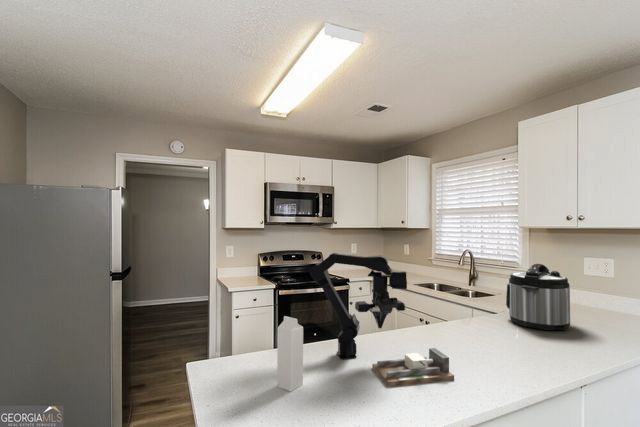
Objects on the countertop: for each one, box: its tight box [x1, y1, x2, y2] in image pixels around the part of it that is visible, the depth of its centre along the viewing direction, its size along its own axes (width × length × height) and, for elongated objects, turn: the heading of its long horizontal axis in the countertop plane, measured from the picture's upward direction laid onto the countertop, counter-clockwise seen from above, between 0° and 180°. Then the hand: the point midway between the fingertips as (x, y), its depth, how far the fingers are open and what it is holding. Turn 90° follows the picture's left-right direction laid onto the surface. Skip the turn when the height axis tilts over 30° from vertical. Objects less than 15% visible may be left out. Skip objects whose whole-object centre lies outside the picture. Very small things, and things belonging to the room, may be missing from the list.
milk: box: [276, 315, 304, 393], centre depth 109 cm, size 6×6×22 cm
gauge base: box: [371, 347, 455, 387], centre depth 118 cm, size 24×14×6 cm, turn 102°
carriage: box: [404, 352, 433, 369], centre depth 117 cm, size 9×10×4 cm
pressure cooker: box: [505, 263, 571, 331], centre depth 178 cm, size 30×28×32 cm
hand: (379, 328), depth 131 cm, fingers closed
